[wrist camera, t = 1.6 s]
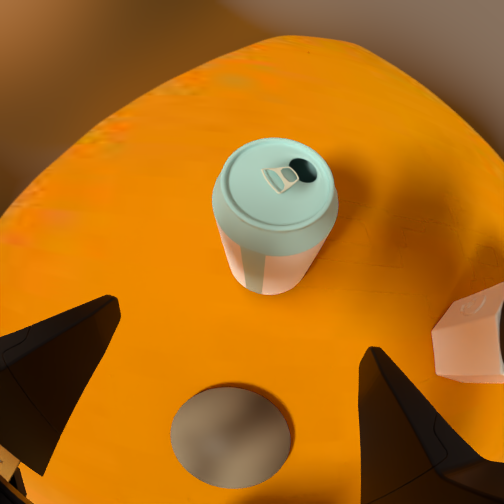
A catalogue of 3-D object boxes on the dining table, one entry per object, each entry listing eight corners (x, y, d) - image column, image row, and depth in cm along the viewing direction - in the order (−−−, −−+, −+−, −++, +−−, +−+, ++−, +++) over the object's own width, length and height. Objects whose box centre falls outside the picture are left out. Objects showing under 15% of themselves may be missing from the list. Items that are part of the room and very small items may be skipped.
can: (248, 211, 26) (244, 116, 15) (318, 238, 25) (358, 155, 14) (215, 276, 24) (181, 209, 13) (290, 309, 23) (323, 267, 12)
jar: (460, 287, 23) (538, 247, 12) (491, 339, 20) (567, 319, 9) (415, 345, 21) (508, 329, 10) (450, 399, 19) (536, 405, 7)
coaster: (309, 412, 20) (310, 414, 19) (259, 498, 16) (259, 501, 16) (199, 367, 21) (198, 367, 21) (157, 455, 18) (154, 457, 17)
